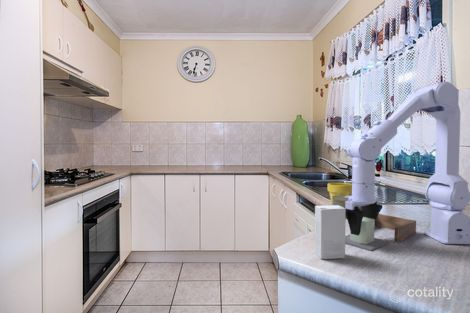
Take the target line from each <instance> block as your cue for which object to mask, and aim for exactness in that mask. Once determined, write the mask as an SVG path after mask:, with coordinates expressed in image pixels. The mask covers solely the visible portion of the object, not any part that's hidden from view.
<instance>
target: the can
mask: <svg viewBox="0 0 470 313" xmlns="http://www.w3.org/2000/svg"><path fill="white" fill-rule="evenodd" d="M348 197H352V195H350V196H349V195H337V196H333V197H332V204H331V205H338V206H341V207H345V201H348V200H349V199H348ZM358 209H360V210H362V208H361V207H358ZM345 220H347V218H346V215H345Z"/></svg>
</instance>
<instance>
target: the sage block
mask: <svg viewBox="0 0 470 313" xmlns="http://www.w3.org/2000/svg"><path fill="white" fill-rule="evenodd" d="M375 227H376V226H375V219H371V218H366V217H363V219H362V223H361V231H360V234H359V235H354V234H351V232H349V233H350V234H349V235H350V240H352V241H356V242H360V243H363V244H368V243H370V242H373V241H374V238H375Z"/></svg>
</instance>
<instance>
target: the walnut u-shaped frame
mask: <svg viewBox="0 0 470 313" xmlns="http://www.w3.org/2000/svg"><path fill="white" fill-rule="evenodd" d="M363 217H364V216H363ZM375 227H380V228H384V229H389V230H393V231H394V238H393V239H394V243H400V242H401V241H403V240H406V239H408V238H410V237H412V236H415V235H416V234H417V220H414V219H413V220H412V219H409V218H403V217H398V216H392V215H387V214H382V213H381V214H380V213H379V214H378V216H377V219H376V223H375Z"/></svg>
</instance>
